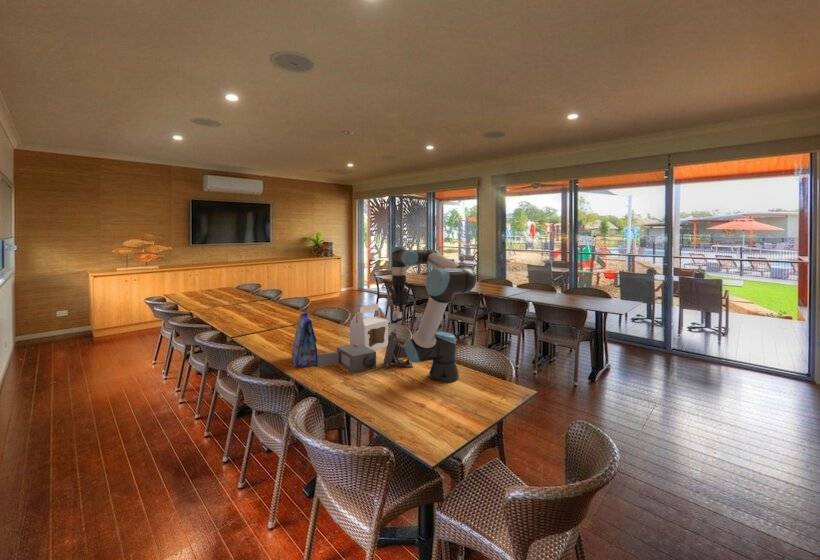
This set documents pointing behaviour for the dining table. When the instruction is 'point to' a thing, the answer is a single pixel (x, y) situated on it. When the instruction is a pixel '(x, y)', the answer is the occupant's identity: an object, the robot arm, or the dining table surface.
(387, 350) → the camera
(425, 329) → the robot arm
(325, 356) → the side door
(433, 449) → the dining table surface
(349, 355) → the box
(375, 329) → the gable box
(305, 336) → the lunch bag
